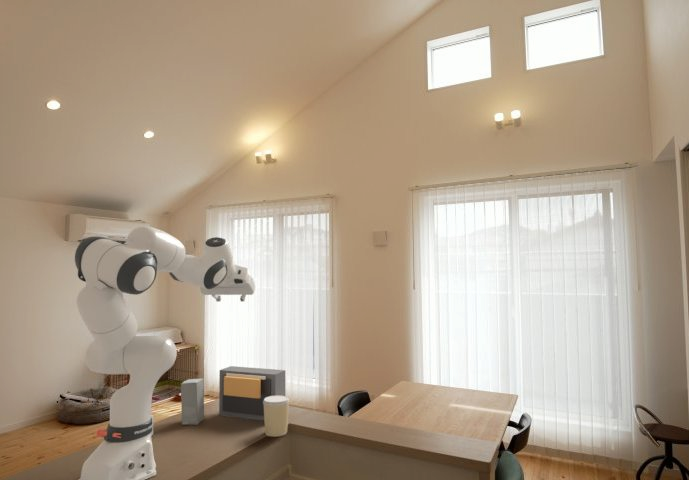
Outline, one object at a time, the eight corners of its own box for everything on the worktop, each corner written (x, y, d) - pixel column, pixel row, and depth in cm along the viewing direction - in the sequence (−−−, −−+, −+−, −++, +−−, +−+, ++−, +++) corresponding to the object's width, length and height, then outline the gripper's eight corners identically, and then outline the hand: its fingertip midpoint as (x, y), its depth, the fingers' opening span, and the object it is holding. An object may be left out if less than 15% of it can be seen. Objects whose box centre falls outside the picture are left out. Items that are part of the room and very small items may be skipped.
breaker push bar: (258, 398, 172) (258, 379, 173) (223, 394, 178) (223, 376, 179) (262, 396, 175) (262, 378, 176) (228, 393, 181) (228, 375, 181)
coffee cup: (285, 426, 168) (284, 394, 169) (292, 435, 160) (292, 400, 161) (260, 430, 165) (260, 397, 166) (266, 439, 156) (266, 403, 157)
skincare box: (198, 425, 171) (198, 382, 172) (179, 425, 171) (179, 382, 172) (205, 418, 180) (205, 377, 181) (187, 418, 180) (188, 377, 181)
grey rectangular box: (274, 422, 173) (274, 375, 174) (217, 415, 182) (218, 370, 183) (285, 415, 181) (285, 370, 182) (230, 409, 190) (231, 366, 192)
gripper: (193, 280, 164) (202, 306, 173) (249, 280, 163) (255, 306, 172) (198, 268, 169) (206, 294, 178) (252, 268, 168) (258, 294, 177)
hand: (231, 300), depth 175 cm, fingers open, 8 cm apart
